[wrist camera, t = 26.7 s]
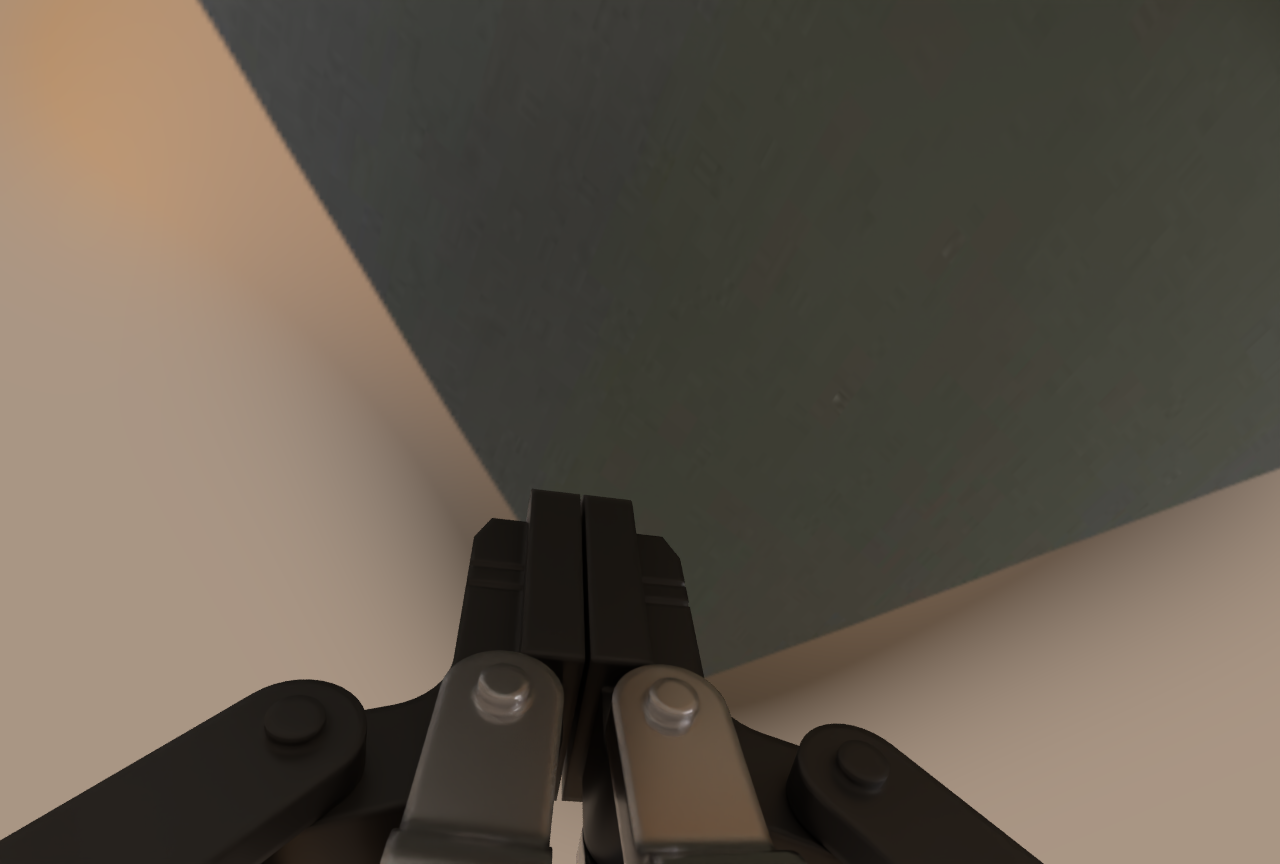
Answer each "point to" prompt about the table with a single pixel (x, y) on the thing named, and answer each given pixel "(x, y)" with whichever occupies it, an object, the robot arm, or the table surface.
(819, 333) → the table surface
